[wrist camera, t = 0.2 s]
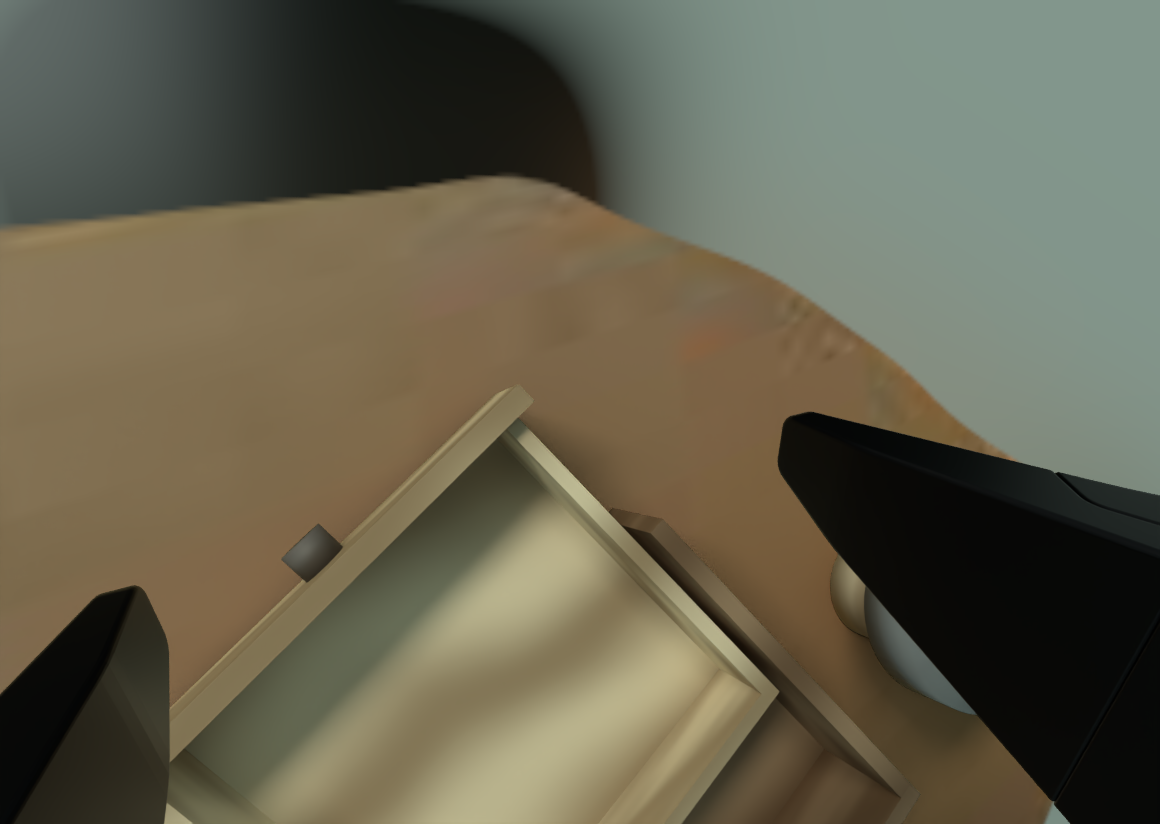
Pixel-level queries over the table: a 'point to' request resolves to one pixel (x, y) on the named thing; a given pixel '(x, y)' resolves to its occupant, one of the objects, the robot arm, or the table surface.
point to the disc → (906, 657)
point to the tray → (469, 665)
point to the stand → (848, 597)
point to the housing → (779, 721)
